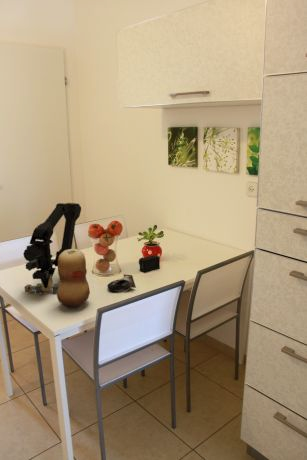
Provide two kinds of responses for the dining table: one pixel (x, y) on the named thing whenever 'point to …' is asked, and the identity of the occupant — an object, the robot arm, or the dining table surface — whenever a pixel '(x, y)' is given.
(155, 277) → the dining table surface
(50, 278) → the coupler
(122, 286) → the caster wheel
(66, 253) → the butternut squash
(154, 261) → the digital camera
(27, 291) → the shaft rig
